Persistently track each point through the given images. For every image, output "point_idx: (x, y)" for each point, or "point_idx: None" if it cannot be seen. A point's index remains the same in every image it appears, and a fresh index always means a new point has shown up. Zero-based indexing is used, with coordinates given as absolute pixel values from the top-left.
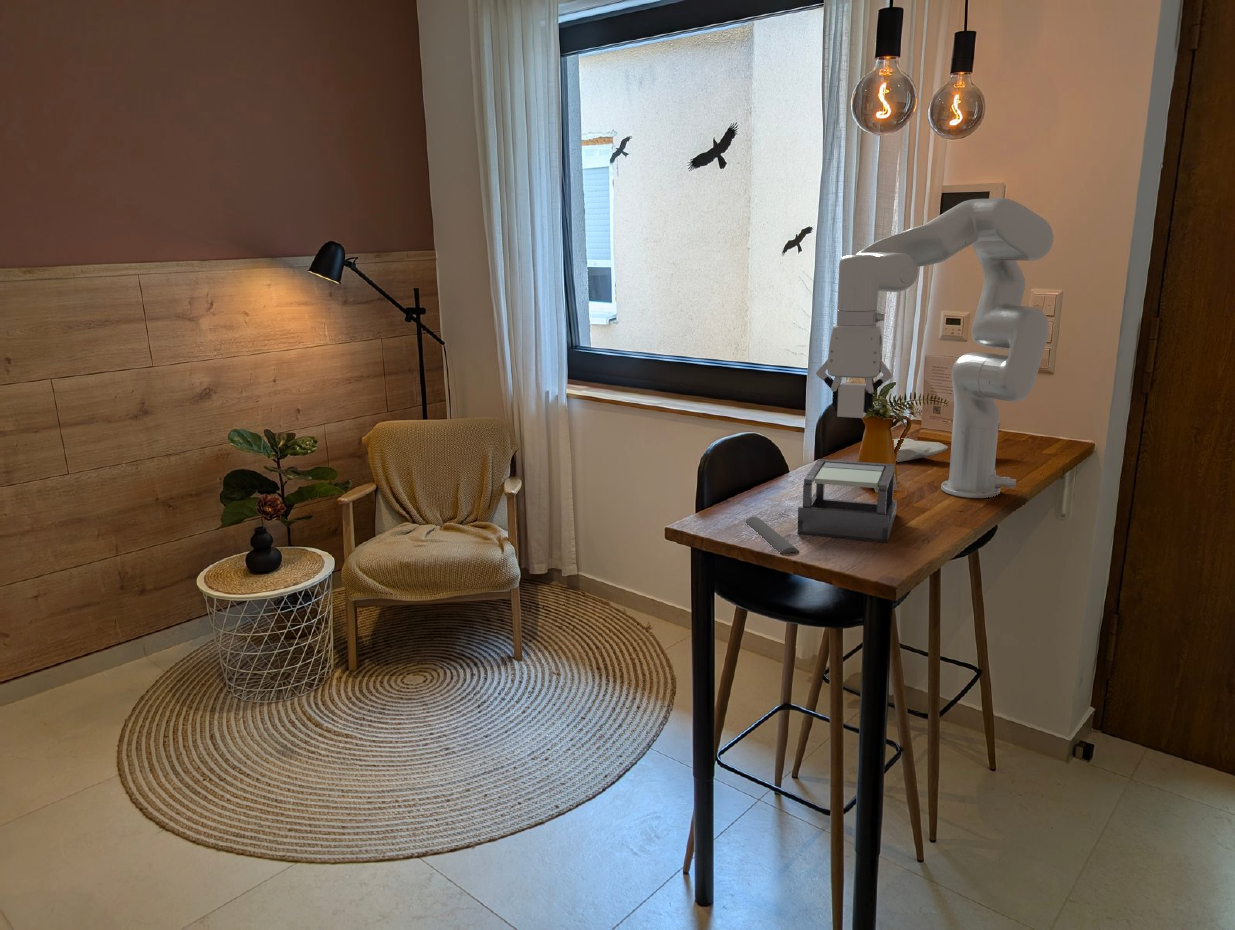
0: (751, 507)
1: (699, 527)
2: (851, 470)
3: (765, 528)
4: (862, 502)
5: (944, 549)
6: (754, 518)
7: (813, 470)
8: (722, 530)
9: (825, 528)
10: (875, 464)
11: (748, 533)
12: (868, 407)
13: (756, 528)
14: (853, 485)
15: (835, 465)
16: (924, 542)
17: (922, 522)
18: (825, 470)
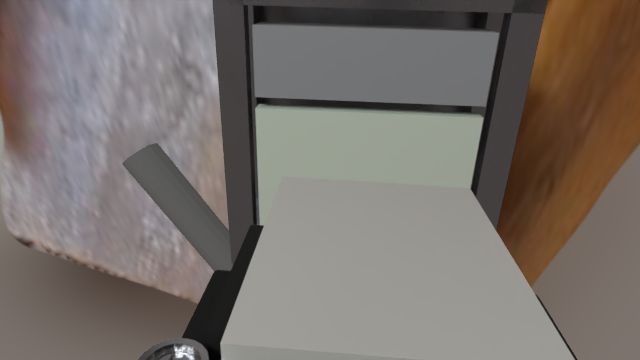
0: (83, 27)
1: (47, 213)
2: (367, 129)
3: (187, 227)
4: None
5: (577, 226)
6: (139, 168)
7: (234, 159)
8: (100, 219)
9: None
10: (463, 3)
11: (157, 225)
12: None
13: (165, 213)
14: None
15: (299, 66)
16: (540, 193)
17: (565, 36)
18: (275, 151)
